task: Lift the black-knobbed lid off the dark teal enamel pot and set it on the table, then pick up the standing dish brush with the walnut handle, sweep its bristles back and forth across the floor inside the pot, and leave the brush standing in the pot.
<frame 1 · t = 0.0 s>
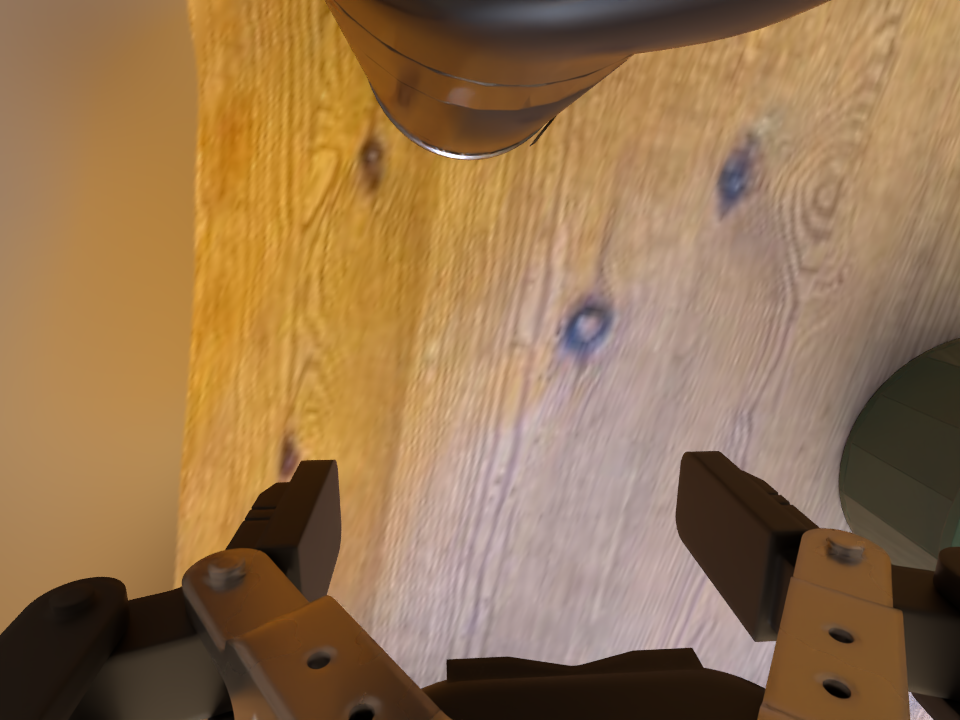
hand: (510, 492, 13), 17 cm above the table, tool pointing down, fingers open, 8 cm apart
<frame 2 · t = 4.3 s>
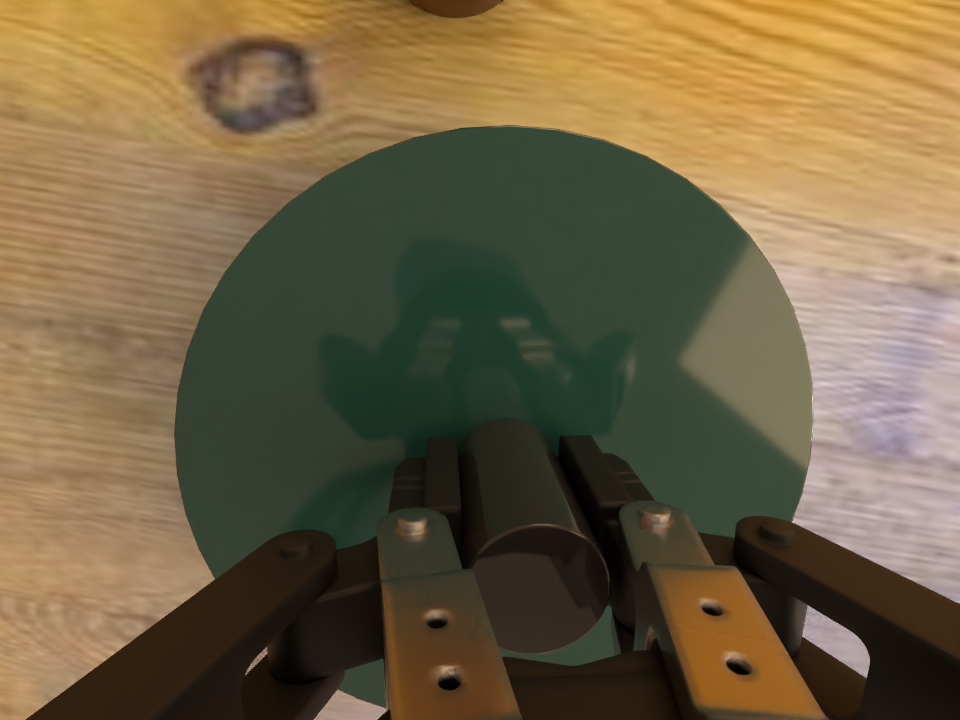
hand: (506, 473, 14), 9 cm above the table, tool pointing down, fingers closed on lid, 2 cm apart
lid: (502, 456, 15), point 7 cm above the table, touching gripper, pot
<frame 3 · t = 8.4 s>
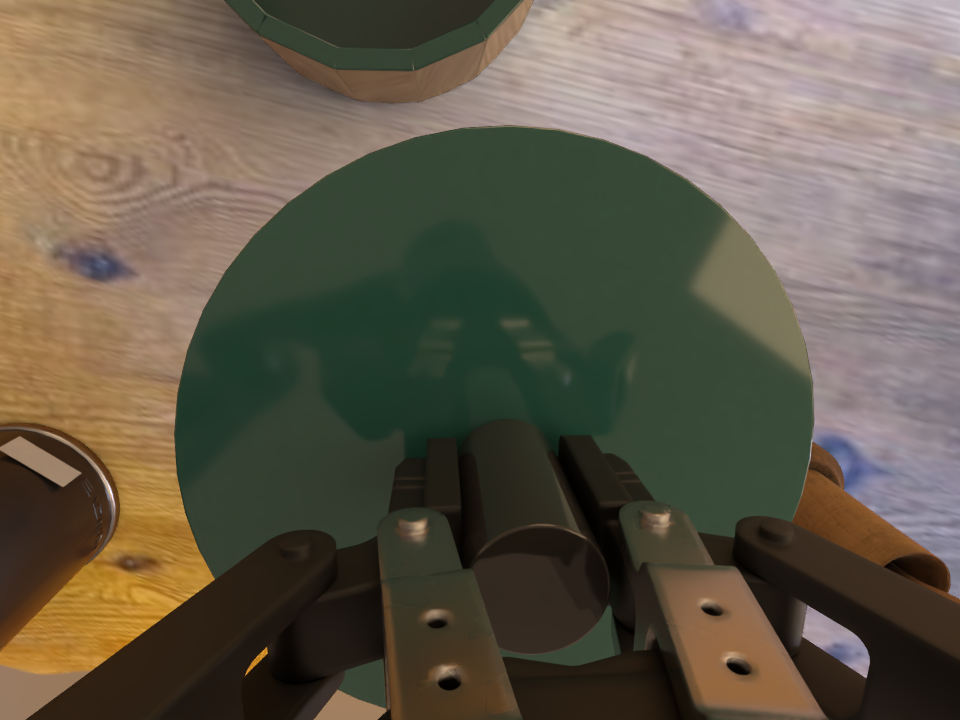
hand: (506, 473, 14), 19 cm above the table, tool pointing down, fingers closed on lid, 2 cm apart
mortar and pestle: (768, 475, 37), on the table
lid: (502, 456, 15), point 18 cm above the table, touching gripper
when the fingers open (2 cm above the table, at t = 12.4 s): lid stays where it is, point 1 cm above the table.
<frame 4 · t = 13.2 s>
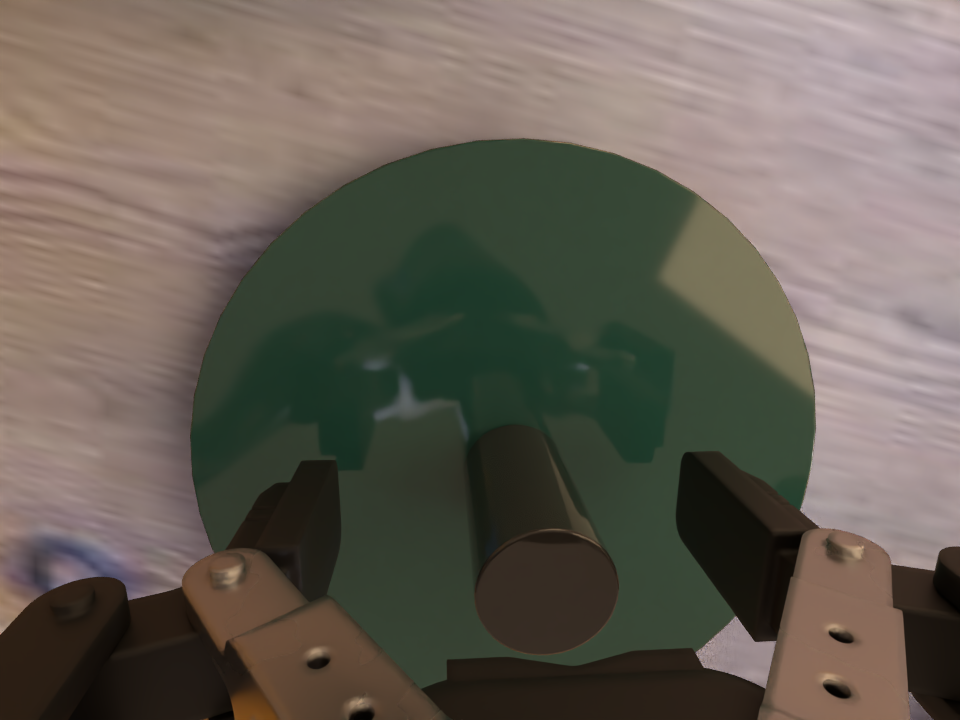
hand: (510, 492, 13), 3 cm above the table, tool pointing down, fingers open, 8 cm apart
lid: (510, 460, 16), point 1 cm above the table
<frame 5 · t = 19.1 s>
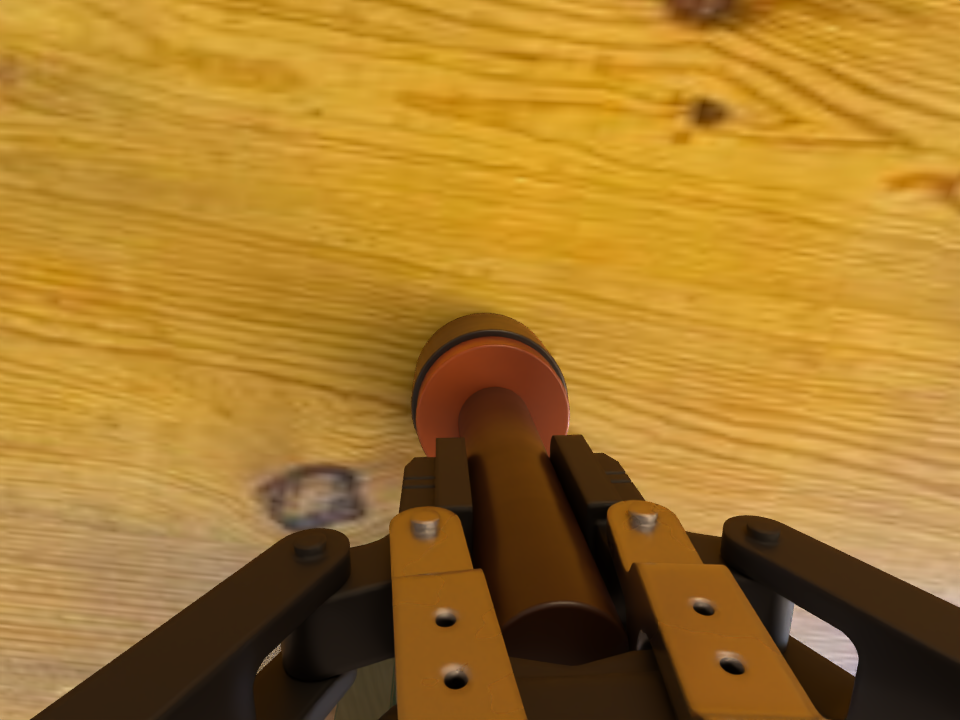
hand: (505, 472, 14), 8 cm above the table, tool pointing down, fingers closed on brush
pot: (504, 702, 26), on the table
brush: (483, 380, 22), on the table, touching gripper
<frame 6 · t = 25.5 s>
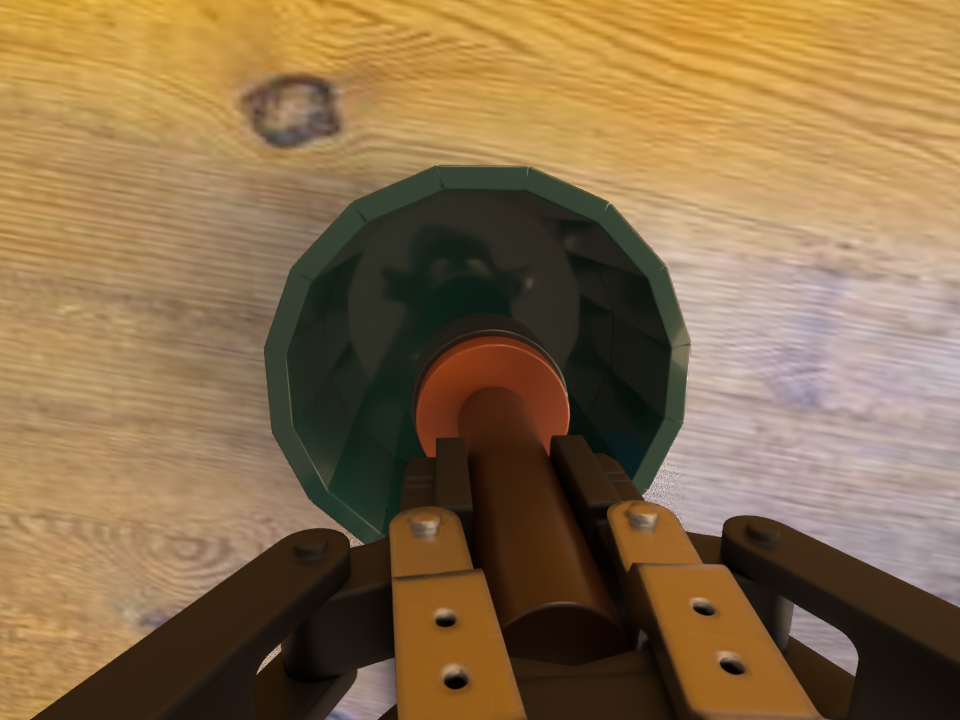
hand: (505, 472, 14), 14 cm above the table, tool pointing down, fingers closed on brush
pot: (471, 340, 28), on the table
brush: (483, 380, 22), point 6 cm above the table, touching gripper
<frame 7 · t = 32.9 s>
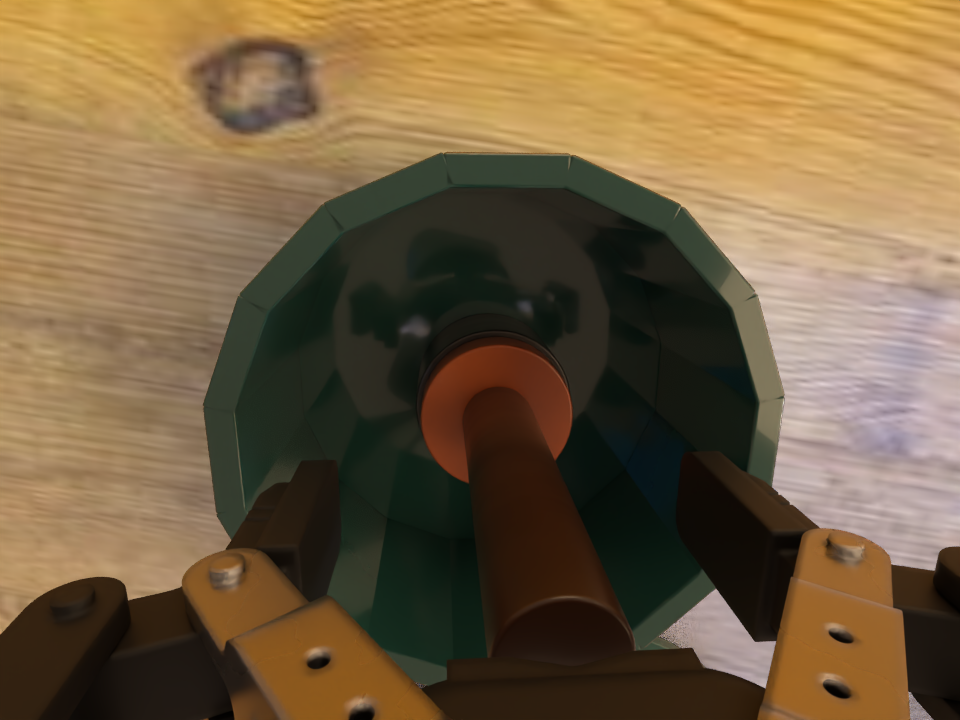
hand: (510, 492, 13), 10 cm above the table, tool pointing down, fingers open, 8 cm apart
pot: (482, 375, 23), on the table
brush: (487, 380, 22), resting on pot
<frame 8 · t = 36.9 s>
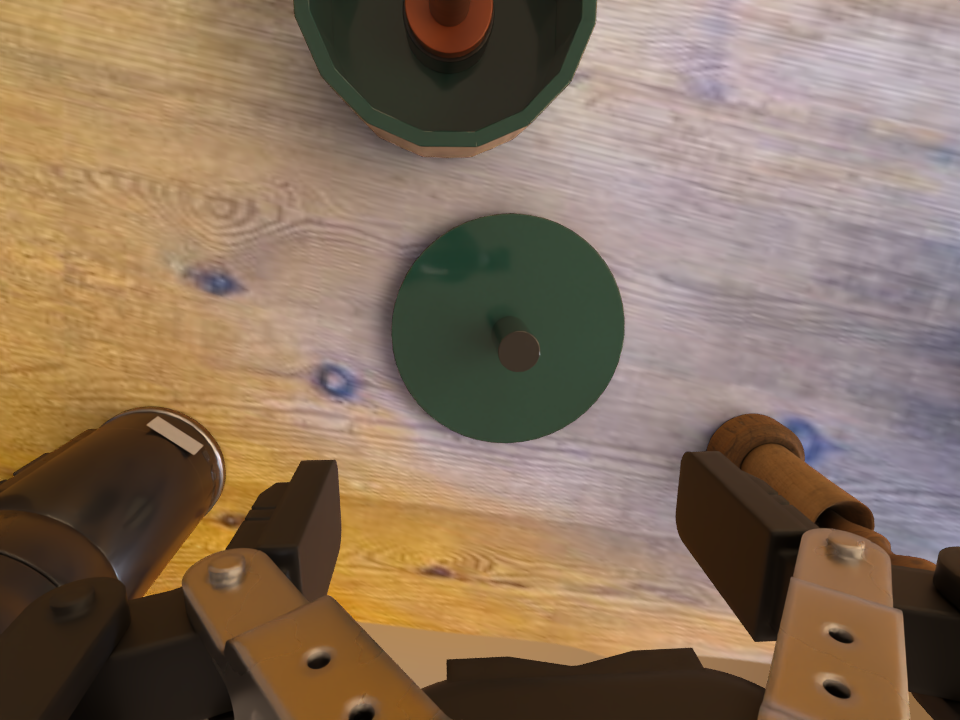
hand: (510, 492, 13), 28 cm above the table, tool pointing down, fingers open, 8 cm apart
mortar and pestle: (745, 451, 45), on the table
pot: (445, 28, 36), on the table
lid: (508, 332, 41), point 1 cm above the table
brush: (447, 27, 36), resting on pot
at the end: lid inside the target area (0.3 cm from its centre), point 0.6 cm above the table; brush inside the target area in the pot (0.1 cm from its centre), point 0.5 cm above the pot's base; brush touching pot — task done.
